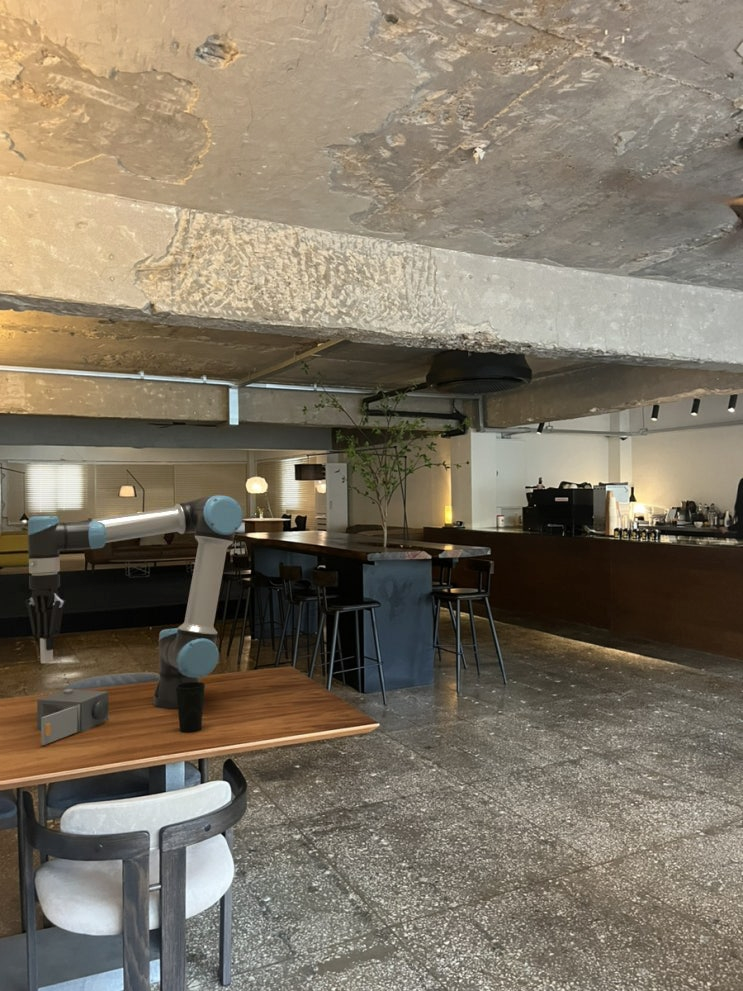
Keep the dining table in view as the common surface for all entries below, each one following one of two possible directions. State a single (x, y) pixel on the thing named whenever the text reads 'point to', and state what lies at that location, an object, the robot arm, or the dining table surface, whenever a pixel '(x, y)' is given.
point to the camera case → (88, 706)
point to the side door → (58, 725)
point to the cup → (190, 705)
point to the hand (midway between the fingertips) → (46, 662)
